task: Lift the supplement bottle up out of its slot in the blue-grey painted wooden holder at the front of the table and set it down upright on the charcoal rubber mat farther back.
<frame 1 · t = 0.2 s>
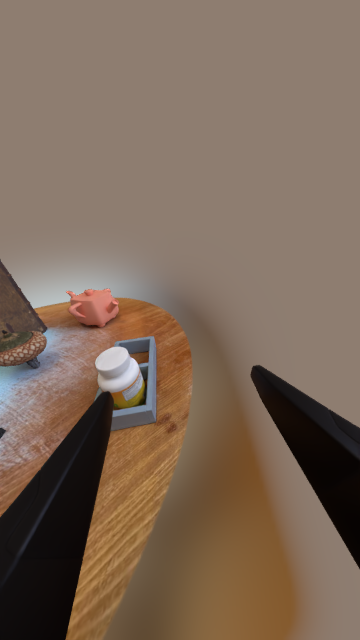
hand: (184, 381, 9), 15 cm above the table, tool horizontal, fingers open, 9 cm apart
supplement bottle: (131, 399, 23), resting in holder
holder: (134, 379, 26), on the table
teapot: (101, 320, 46), on the table
book: (17, 346, 38), on the table
acorn: (37, 367, 31), on the table
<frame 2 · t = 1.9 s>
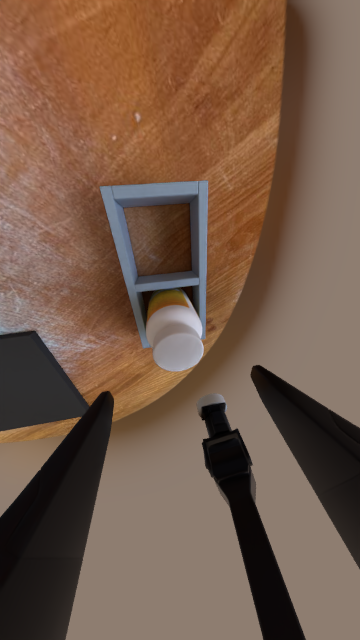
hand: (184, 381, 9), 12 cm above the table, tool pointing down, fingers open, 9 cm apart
supplement bottle: (169, 303, 20), resting in holder
holder: (165, 276, 18), on the table
mat: (2, 389, 23), on the table
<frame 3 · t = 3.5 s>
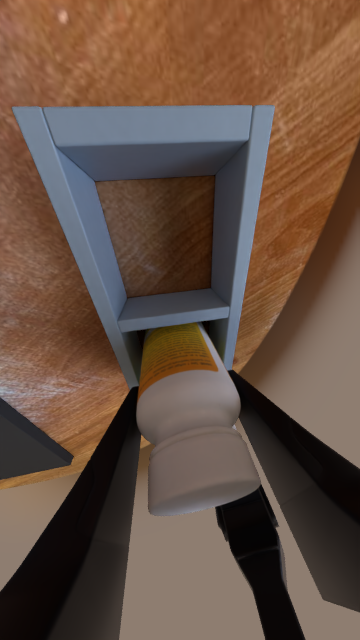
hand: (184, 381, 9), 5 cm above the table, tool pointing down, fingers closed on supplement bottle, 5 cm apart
supplement bottle: (174, 333, 13), resting in holder, touching gripper
holder: (170, 297, 11), on the table
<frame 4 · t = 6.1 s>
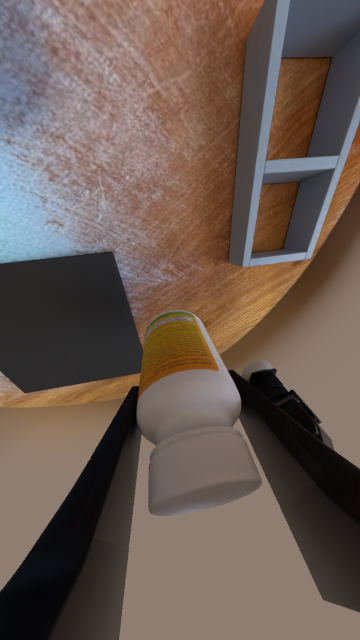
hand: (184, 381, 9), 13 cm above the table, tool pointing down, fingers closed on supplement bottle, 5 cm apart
supplement bottle: (174, 332, 13), point 8 cm above the table, touching gripper
holder: (272, 178, 15), on the table
mat: (62, 333, 20), on the table
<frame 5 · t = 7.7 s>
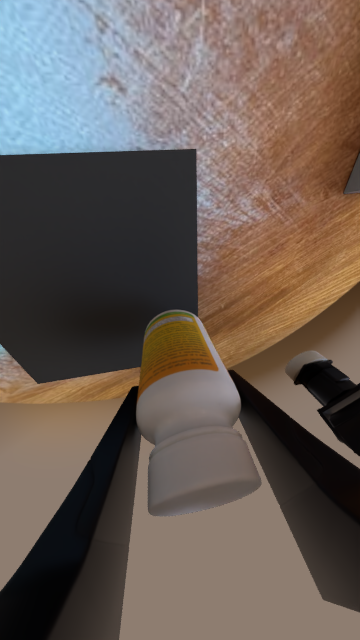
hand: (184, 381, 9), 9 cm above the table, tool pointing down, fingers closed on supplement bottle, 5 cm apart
supplement bottle: (174, 332, 13), point 4 cm above the table, touching gripper
mat: (96, 297, 14), on the table
when the fingers open (6 cm above the table, at t = 8.9 s): supplement bottle stays where it is, resting on mat.
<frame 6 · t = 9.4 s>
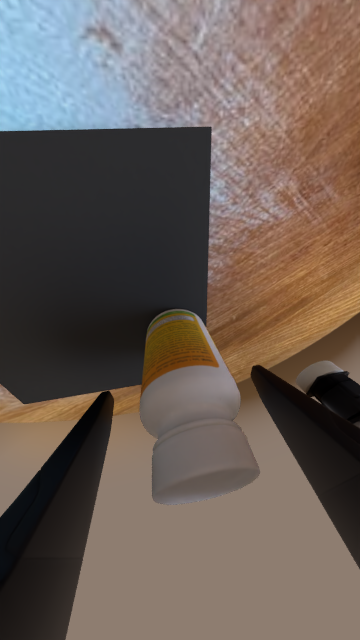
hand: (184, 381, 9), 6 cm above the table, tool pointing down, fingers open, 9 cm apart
supplement bottle: (175, 331, 14), point 1 cm above the table, touching mat
mat: (89, 309, 12), on the table
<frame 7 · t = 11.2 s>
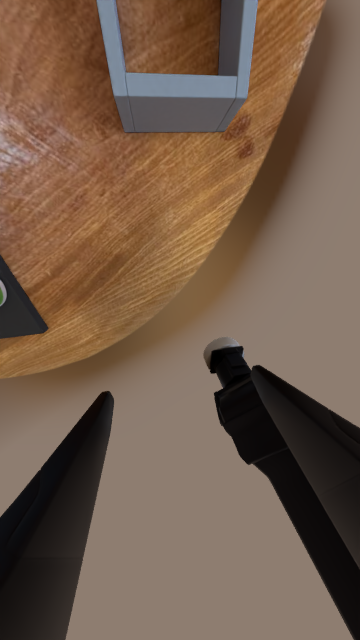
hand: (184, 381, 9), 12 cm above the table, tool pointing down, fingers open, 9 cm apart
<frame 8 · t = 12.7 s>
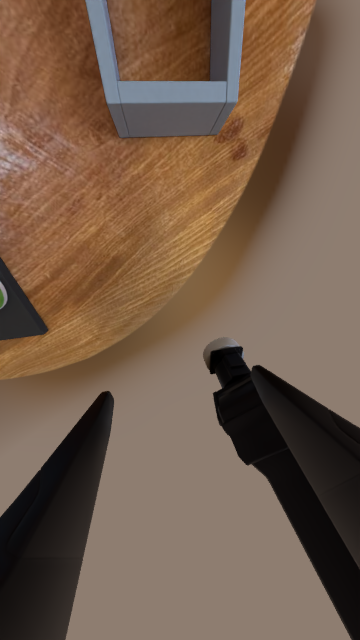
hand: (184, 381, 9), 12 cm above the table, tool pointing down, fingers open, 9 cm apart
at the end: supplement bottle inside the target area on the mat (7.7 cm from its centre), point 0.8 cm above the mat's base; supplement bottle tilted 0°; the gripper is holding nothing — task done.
